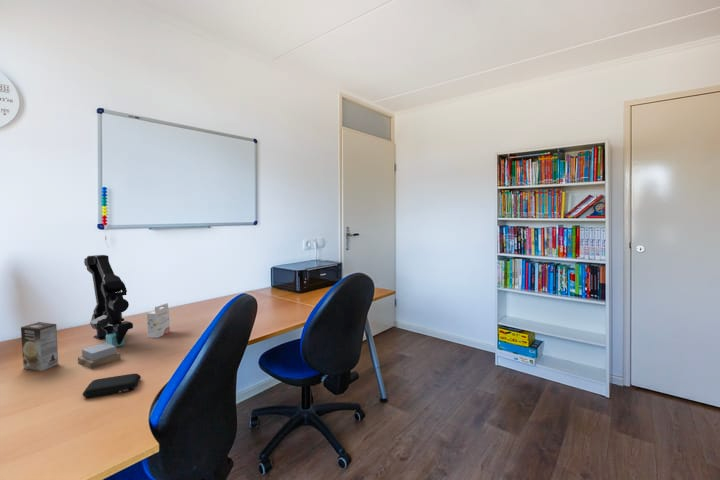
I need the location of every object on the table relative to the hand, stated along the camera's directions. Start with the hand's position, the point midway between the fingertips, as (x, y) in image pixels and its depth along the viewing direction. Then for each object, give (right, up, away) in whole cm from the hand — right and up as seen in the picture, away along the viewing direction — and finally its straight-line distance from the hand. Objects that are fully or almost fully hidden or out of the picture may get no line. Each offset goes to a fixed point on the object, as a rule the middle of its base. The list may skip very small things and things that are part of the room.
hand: (115, 342), depth 151 cm
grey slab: (+6, 0, -17) cm, 18 cm away
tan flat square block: (+6, -3, -17) cm, 18 cm away
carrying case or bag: (+27, -5, -38) cm, 47 cm away
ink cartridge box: (+12, 0, +13) cm, 18 cm away
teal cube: (0, -1, 0) cm, 1 cm away
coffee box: (-13, -3, -21) cm, 25 cm away
